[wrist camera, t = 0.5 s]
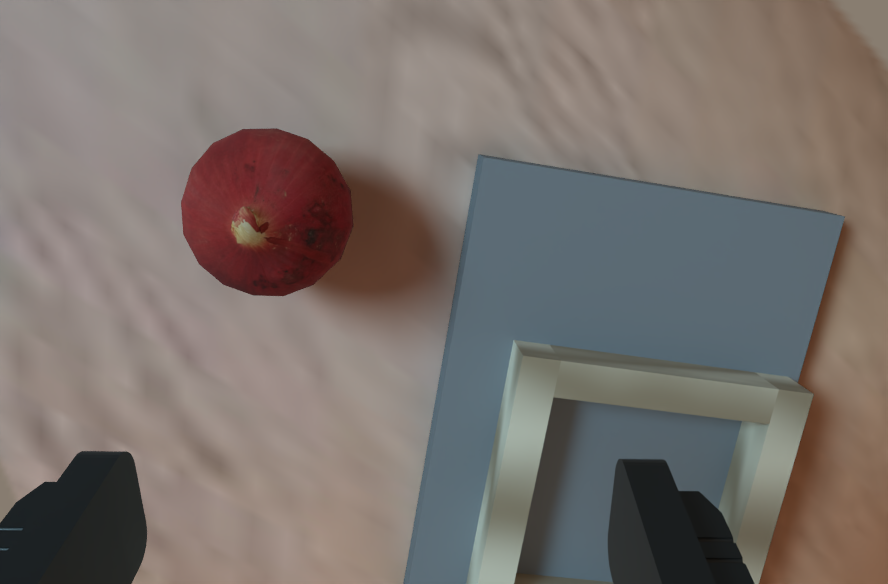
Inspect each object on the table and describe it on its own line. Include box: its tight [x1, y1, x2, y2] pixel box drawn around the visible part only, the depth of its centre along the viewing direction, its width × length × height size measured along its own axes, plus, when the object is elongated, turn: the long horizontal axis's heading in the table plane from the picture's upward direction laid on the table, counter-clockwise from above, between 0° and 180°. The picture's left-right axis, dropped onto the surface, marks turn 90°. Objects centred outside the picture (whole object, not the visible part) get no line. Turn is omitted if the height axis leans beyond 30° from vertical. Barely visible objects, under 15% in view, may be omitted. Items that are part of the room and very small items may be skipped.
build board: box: [404, 155, 845, 584], centre depth 34 cm, size 20×15×2 cm
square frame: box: [466, 340, 814, 584], centre depth 33 cm, size 12×12×2 cm
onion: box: [181, 129, 353, 296], centre depth 27 cm, size 6×6×8 cm
